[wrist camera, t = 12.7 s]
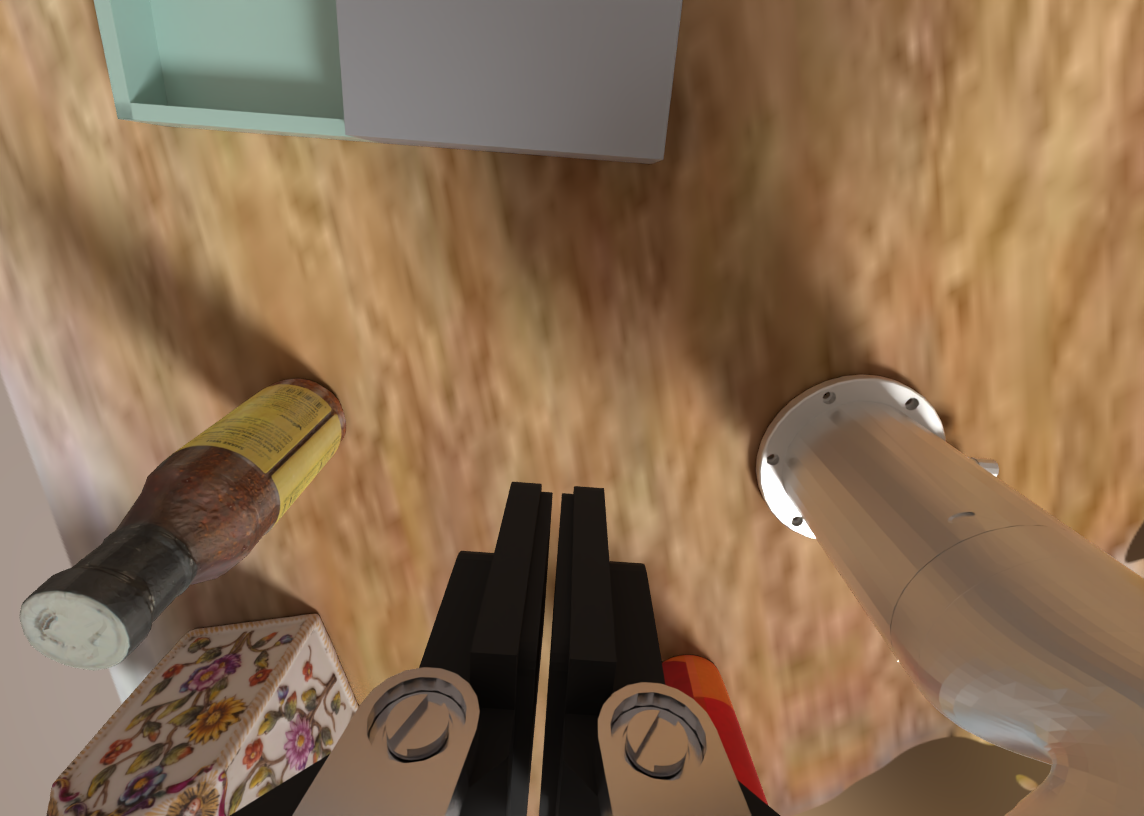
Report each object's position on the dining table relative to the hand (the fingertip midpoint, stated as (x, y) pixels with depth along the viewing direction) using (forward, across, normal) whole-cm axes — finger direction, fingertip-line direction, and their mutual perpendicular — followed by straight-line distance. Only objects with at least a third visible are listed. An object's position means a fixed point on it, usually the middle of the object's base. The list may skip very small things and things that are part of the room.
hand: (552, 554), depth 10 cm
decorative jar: (+27, +23, +34) cm, 49 cm away
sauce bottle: (+27, +18, +10) cm, 34 cm away
